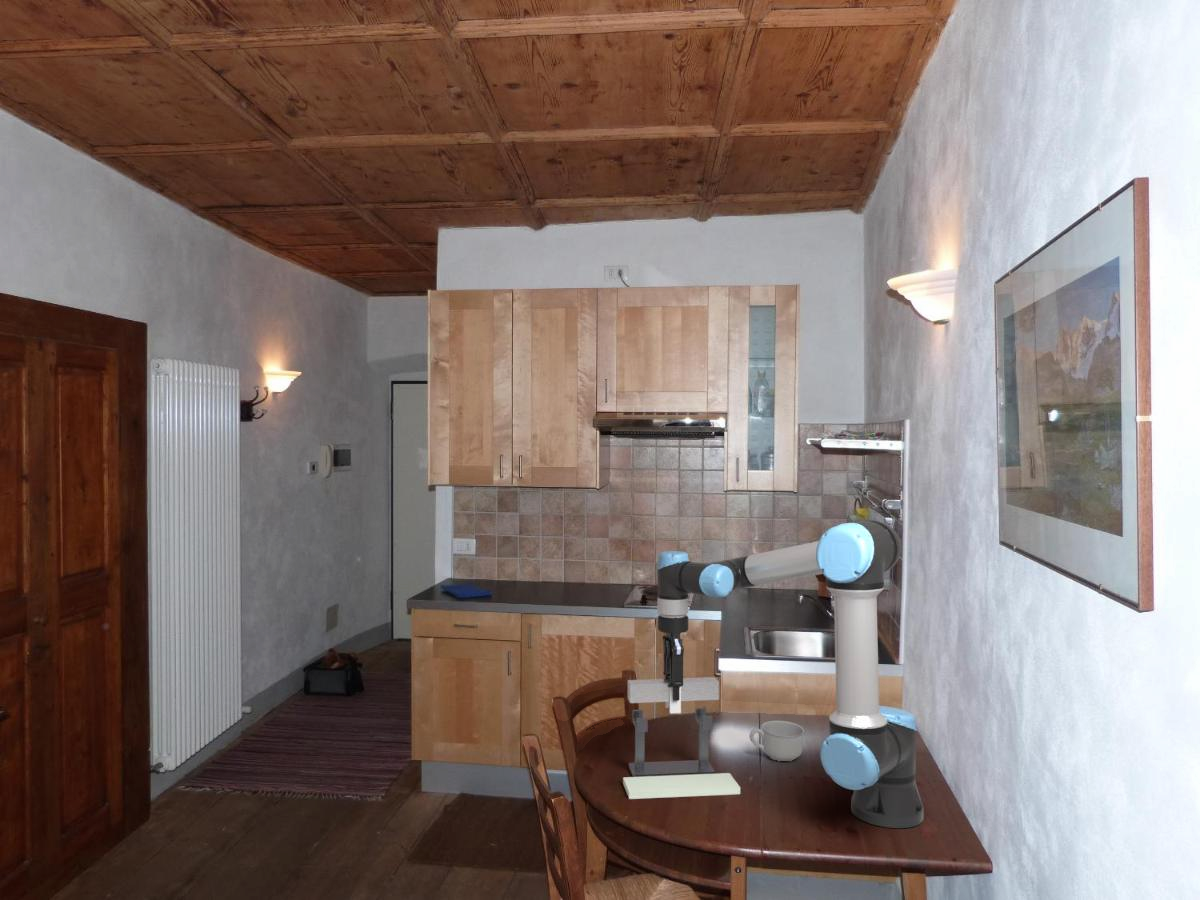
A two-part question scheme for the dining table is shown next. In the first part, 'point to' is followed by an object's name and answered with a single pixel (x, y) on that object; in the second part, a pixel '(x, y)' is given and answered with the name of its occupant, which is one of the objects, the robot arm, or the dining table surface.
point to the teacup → (780, 740)
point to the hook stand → (671, 767)
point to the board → (680, 785)
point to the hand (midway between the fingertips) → (673, 709)
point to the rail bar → (660, 691)
